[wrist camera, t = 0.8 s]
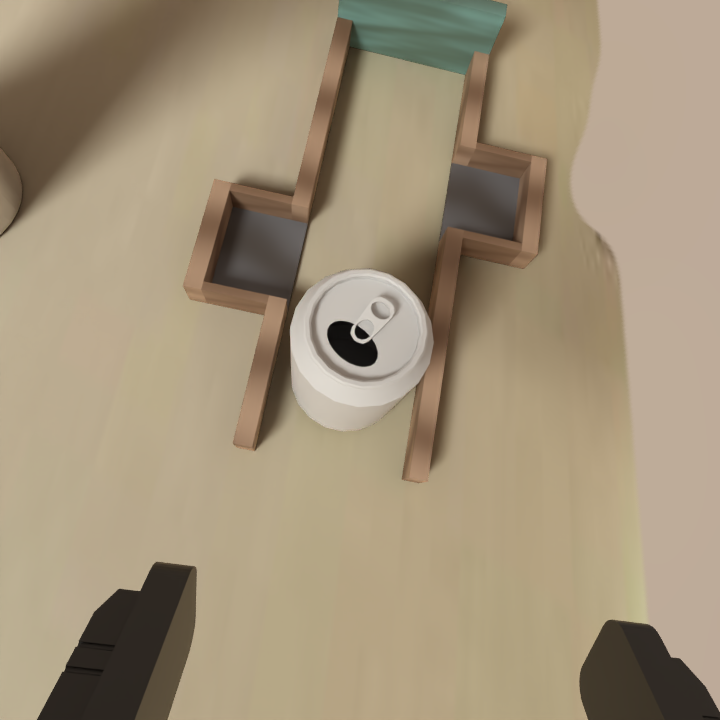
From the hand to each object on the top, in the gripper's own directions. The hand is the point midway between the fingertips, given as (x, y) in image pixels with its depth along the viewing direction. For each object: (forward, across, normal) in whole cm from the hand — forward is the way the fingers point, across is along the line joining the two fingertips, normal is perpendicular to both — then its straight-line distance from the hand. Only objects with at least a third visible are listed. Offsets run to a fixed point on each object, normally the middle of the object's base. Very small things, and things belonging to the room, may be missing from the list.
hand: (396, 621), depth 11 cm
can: (+26, +1, +9) cm, 28 cm away
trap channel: (+33, 0, +1) cm, 33 cm away
